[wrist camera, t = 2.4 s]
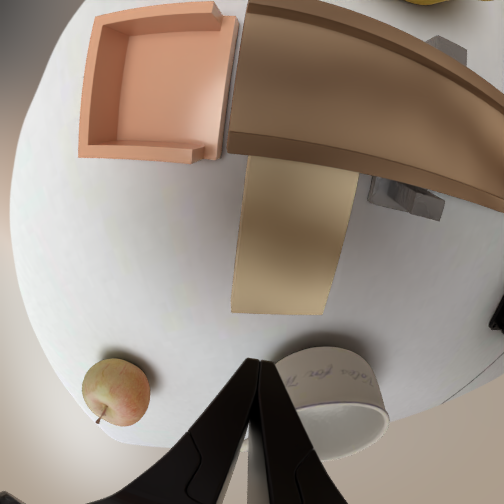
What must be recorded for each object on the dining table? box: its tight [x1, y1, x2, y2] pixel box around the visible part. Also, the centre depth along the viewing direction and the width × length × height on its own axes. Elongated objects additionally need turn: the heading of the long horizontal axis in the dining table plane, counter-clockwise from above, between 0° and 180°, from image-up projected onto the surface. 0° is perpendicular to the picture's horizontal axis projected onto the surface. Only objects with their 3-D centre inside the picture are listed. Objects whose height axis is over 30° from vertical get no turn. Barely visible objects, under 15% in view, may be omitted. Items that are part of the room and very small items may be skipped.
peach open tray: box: [78, 1, 239, 164], centre depth 15 cm, size 10×9×4 cm
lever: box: [226, 0, 504, 315], centre depth 13 cm, size 15×22×3 cm
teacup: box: [240, 347, 390, 462], centre depth 22 cm, size 14×11×8 cm
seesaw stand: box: [367, 35, 467, 221], centre depth 14 cm, size 12×4×5 cm, turn 173°
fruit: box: [82, 358, 150, 426], centre depth 25 cm, size 8×7×8 cm
